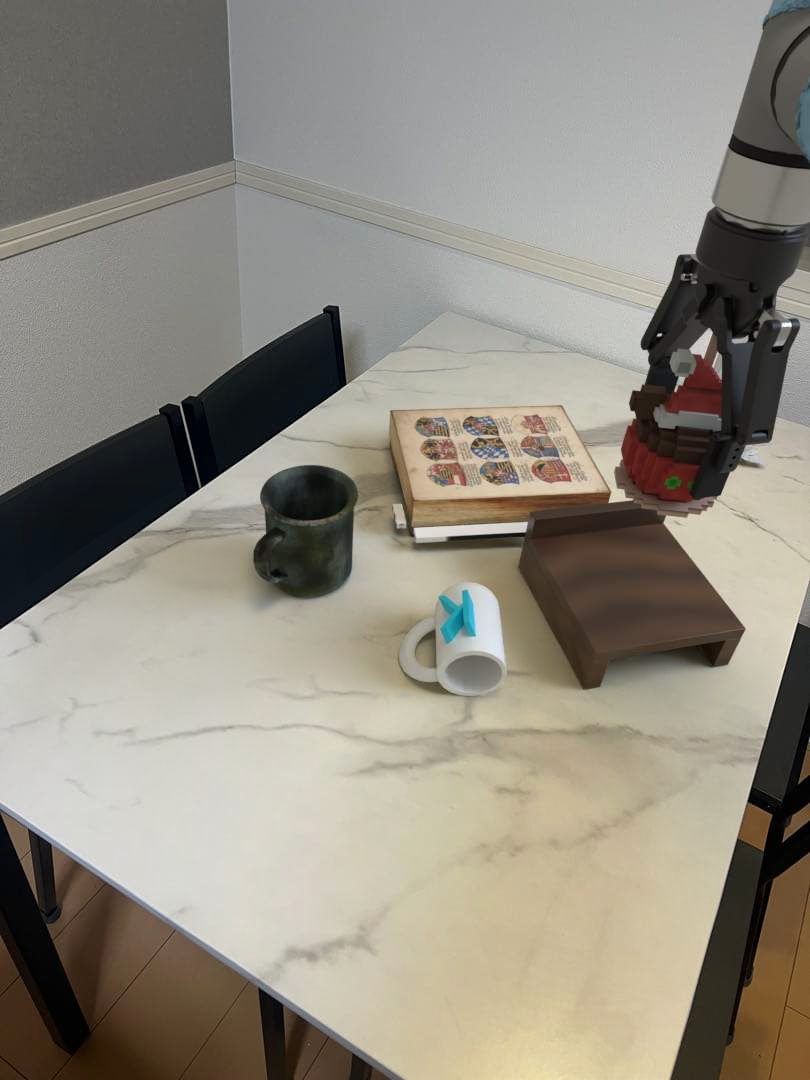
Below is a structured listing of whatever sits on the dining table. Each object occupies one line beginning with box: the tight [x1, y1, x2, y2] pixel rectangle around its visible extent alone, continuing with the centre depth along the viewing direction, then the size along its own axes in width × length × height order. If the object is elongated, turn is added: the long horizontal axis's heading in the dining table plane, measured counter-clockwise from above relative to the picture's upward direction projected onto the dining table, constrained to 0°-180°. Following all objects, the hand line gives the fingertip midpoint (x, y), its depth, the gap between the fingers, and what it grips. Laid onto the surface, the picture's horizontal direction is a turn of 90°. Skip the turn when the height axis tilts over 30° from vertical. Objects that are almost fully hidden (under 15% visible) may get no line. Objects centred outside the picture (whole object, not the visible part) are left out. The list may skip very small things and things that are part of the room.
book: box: [388, 404, 612, 544], centre depth 111 cm, size 25×6×28 cm
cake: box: [613, 332, 739, 519], centre depth 71 cm, size 11×9×18 cm
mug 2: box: [398, 581, 508, 697], centre depth 87 cm, size 12×9×12 cm
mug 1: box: [252, 464, 359, 598], centre depth 93 cm, size 11×15×12 cm
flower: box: [740, 445, 769, 466], centre depth 124 cm, size 8×8×3 cm
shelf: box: [518, 499, 747, 690], centre depth 93 cm, size 20×18×9 cm
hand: (674, 460), depth 74 cm, fingers closed on cake, 10 cm apart
